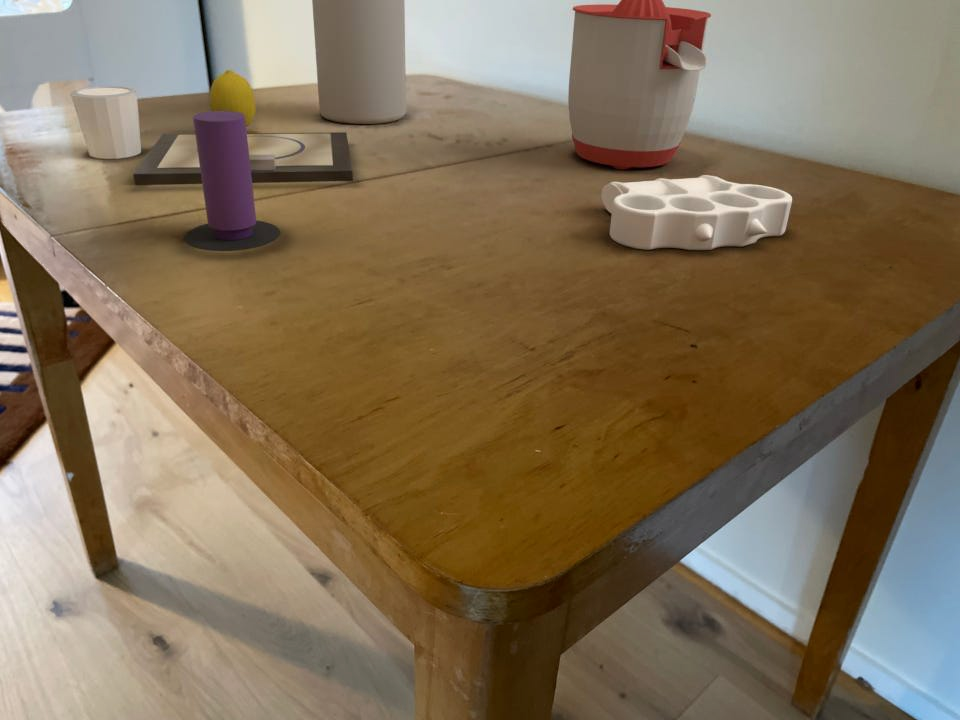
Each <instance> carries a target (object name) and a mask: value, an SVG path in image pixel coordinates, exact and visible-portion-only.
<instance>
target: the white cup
mask: <svg viewBox="0 0 960 720" xmlns="http://www.w3.org/2000/svg"><path fill="white" fill-rule="evenodd" d="M70 96H71V100H72V103H73V106H74V110H75V113H76V116H77V120H78V123H79V126H80V129H81V132H82V136H83V139H84V142H85V146H86V149H87V152H88V155H89V156H90V157H91V158H95V159H100V160H101V159H103V160H118V159H126V158H132V157H135V156H138V155H139V154H141V153H142V142H141V132H140V131H141V129H140V117H139V105H138V104H139V103H138V92H137V90H136V89H134V88H131V87H130V88H129V87H123V86H94V87H85V88H79V89H75V90H73V91H71V92H70Z"/></svg>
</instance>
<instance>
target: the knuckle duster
mask: <svg viewBox="0 0 960 720" xmlns="http://www.w3.org/2000/svg"><path fill="white" fill-rule="evenodd" d="M600 193H601V194H600V195H601V201H602V204H603V206H604V208H605V209H606V211H608V212H609V214H611V215H610V216H611V218H610V224H609V225H610V226H609V236H610V239H611V240H613V242H615V243H617V244H619V245H621V246H625V247H627V248H632V249H637V250H644V251H650V250H654V249H664V248H665V249H667V248H670V249H680V250H688V251H712V250H714V249H716V248H721V247H745V246H748V245H749V246H750V245H753V244H756V243H757V241H758V240H760V239H762V238H766V237H767V238H769V237H781V236H783V235H784V234H785V232H786V230H787V225H788V221H789V217H790V212H791V209H792V208H791V207H792V204H793V197H792V195H791V194H790V193H788V192H786V191H784V190H783V189H779V188H777V187H772V186H767V185H760V184H752V183H737V182H733V181H728V180H725V179H723V178H720V177H719V176H715V175H709V174H702V175H700V176H698V177H688V178H687V177H686V178H672V179H669V178H664V177H663V178H661V177H660V178H656V179H655V180H643V181H630V182H629V181H628V182H621V181H611V182H610V183H607V184H605V185H603V187H602V188H601V192H600Z"/></svg>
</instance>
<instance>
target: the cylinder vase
mask: <svg viewBox="0 0 960 720" xmlns="http://www.w3.org/2000/svg"><path fill="white" fill-rule="evenodd" d="M311 3H312V4H311V5H312V19H313V33H314V48H315V49H314V50H315V65H316V77H317V93H318V109H319V113H320V115H321V116H322V117H323V118H324V119H326V120H328V121H332V122H335V123H341V124H350V125H378V124H379V125H380V124H385V123H391V122H392V123H393V122H396V121H398V120H401V119H402V118H404V117H405V115H406V113H407V85H406V84H407V83H406V82H407V81H406V80H407V79H406V78H407V77H406V76H407V75H406V26H405V25H406V17H405V16H406V12H405V11H406V9H405V7H406V6H405V0H311Z"/></svg>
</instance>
